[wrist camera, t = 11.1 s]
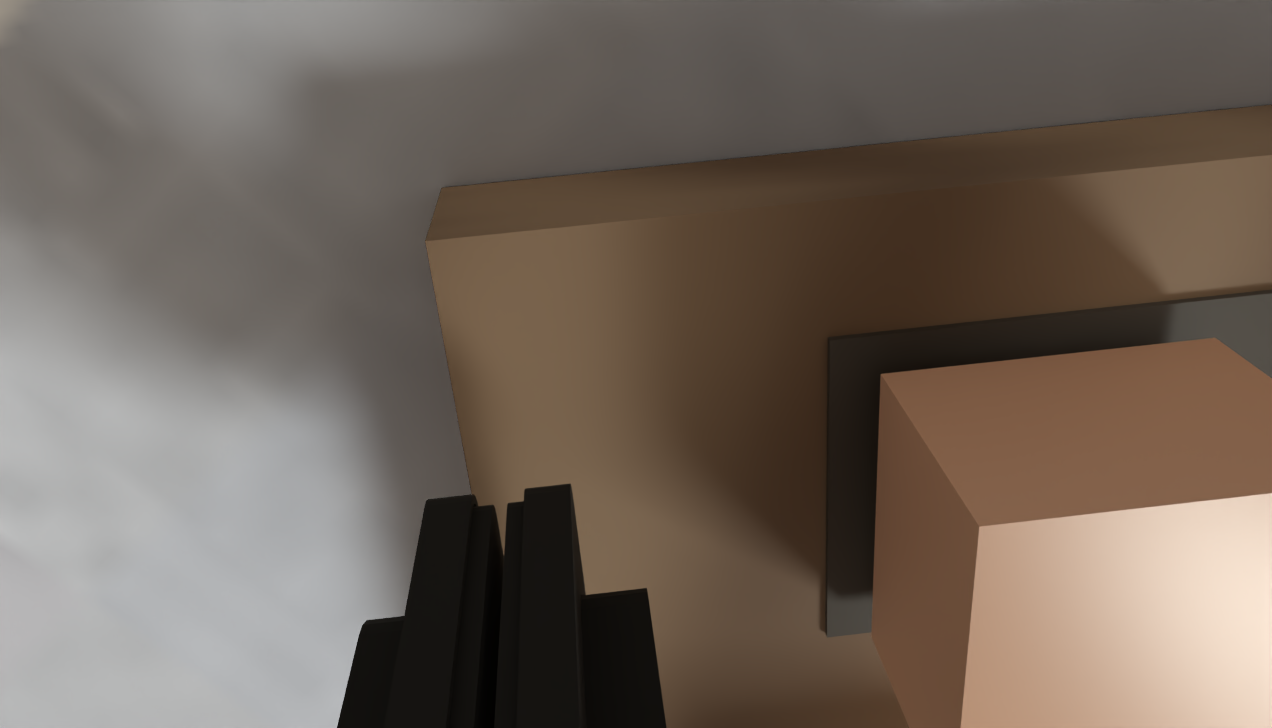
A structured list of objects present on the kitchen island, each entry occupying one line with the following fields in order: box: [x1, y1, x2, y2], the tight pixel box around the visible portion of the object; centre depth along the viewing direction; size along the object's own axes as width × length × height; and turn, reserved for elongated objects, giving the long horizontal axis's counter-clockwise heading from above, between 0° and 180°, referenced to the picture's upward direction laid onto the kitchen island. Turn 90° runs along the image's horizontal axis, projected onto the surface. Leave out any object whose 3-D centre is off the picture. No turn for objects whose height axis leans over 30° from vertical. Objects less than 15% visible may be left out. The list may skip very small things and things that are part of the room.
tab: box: [871, 338, 1272, 728], centre depth 11 cm, size 4×4×3 cm
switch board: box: [425, 105, 1272, 728], centre depth 16 cm, size 22×16×2 cm
